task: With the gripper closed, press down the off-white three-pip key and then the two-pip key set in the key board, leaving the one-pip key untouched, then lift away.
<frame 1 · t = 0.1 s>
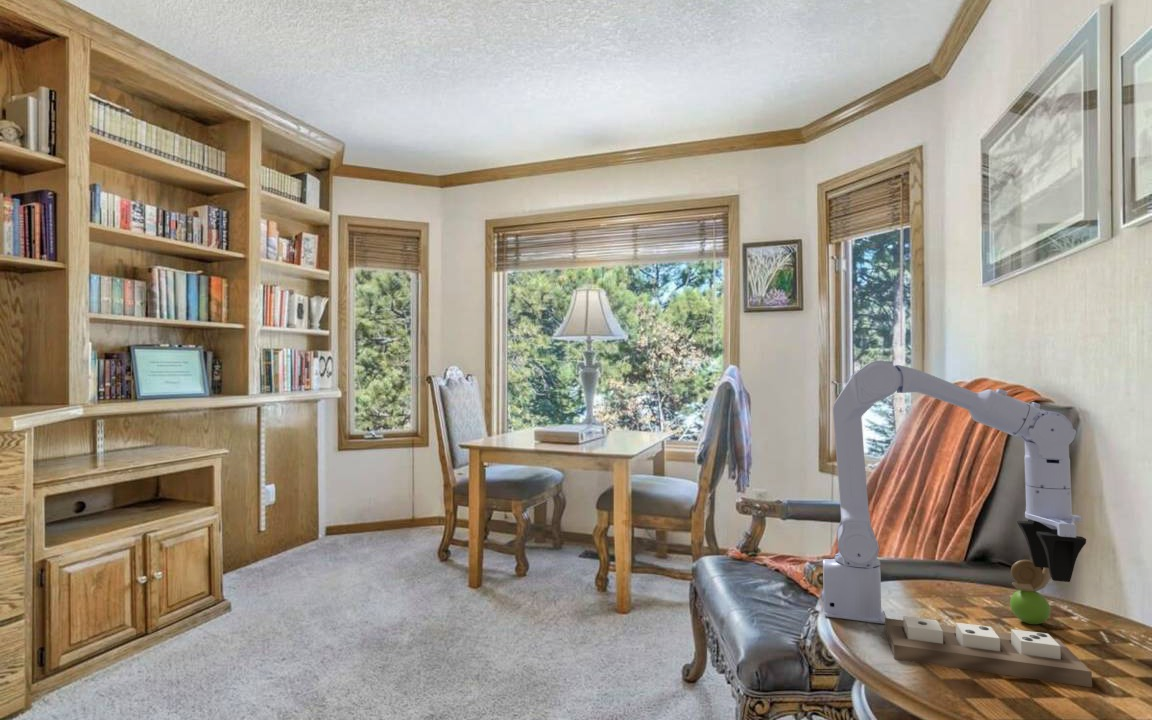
hand: (1051, 573, 94), 10 cm above the table, fingers open, 7 cm apart
tile one pip: (922, 631, 90), point 2 cm above the table, slide at 0.0 cm
tile two pips: (977, 638, 88), point 2 cm above the table, slide at 0.0 cm
snail figurine: (1033, 624, 100), on the table
key board: (977, 656, 87), on the table
tile three pips: (1035, 645, 85), point 2 cm above the table, slide at 0.0 cm
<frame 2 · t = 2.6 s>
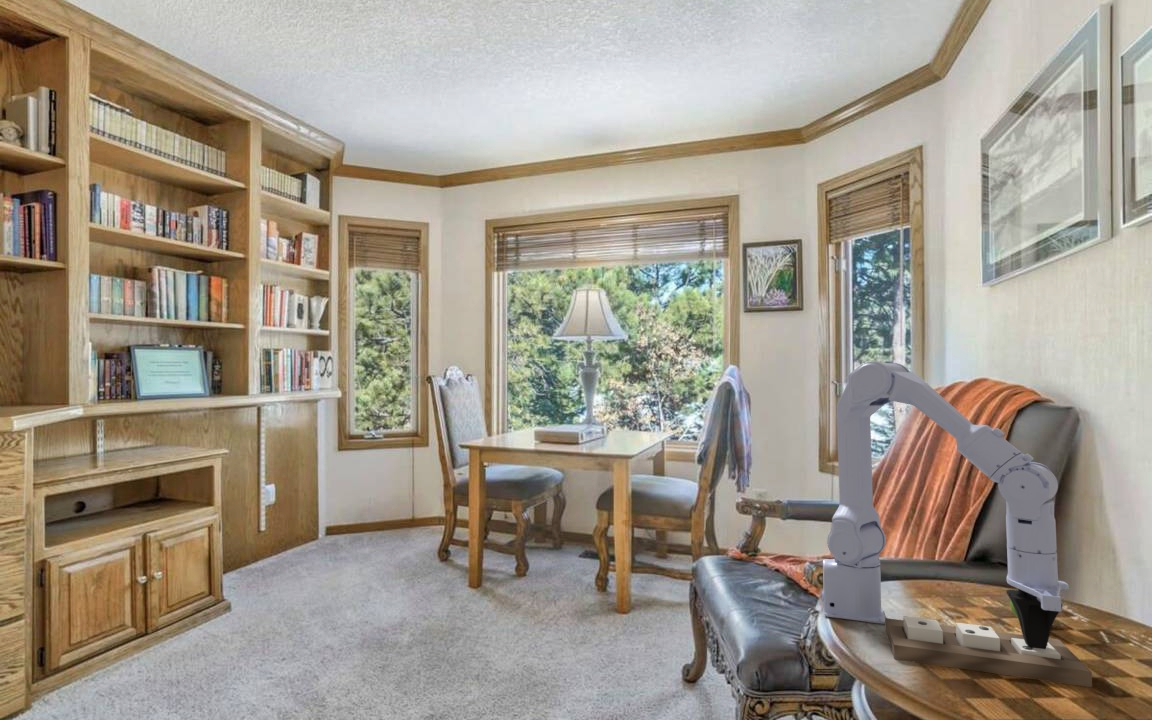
hand: (1035, 646, 85), 2 cm above the table, fingers closed, pressing on tile three pips
tile three pips: (1035, 654, 85), point 1 cm above the table, slide at 1.2 cm, touching gripper
everything else where it was.
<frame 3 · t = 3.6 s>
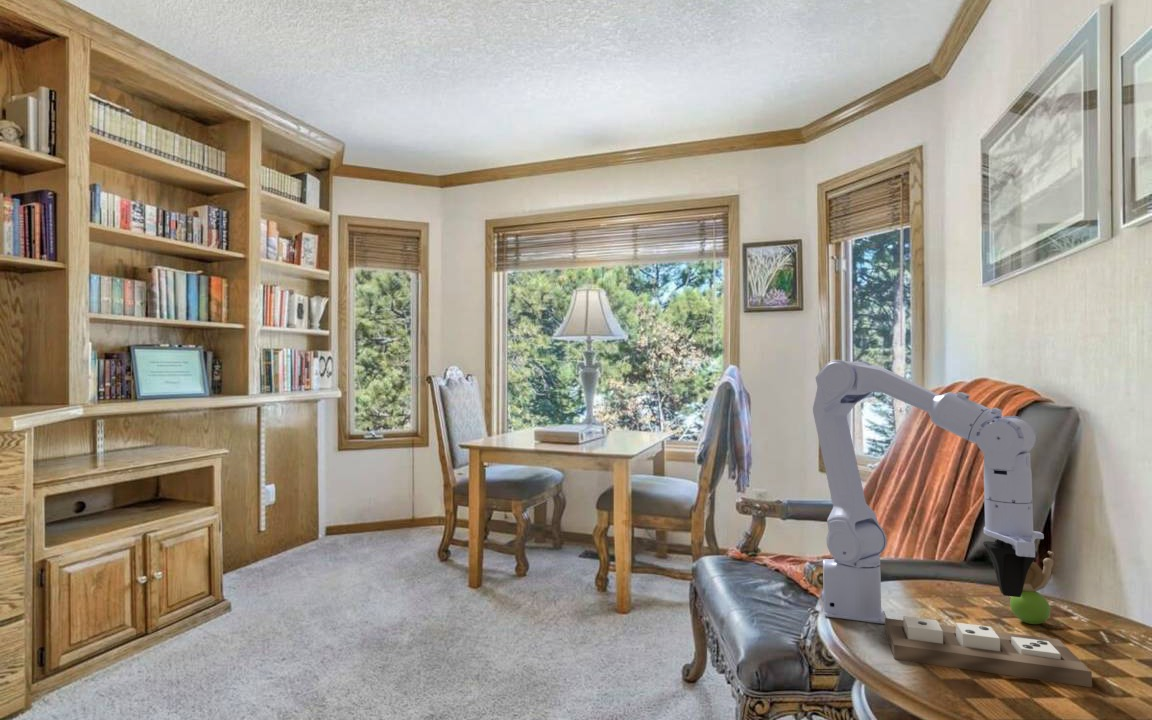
hand: (1010, 595, 87), 9 cm above the table, fingers closed
tile three pips: (1035, 653, 85), point 1 cm above the table, slide at 1.1 cm
everything else where it was.
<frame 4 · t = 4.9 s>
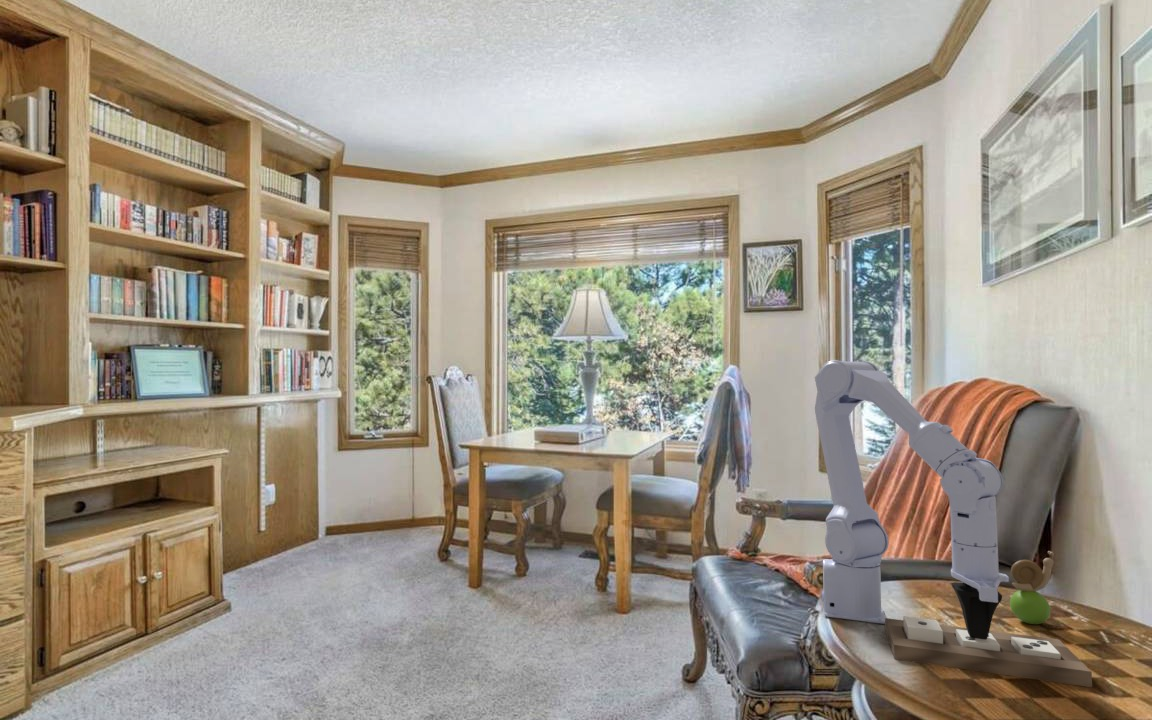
hand: (977, 636, 88), 3 cm above the table, fingers closed, pressing on tile two pips
tile two pips: (977, 645, 88), point 2 cm above the table, slide at 1.0 cm, touching gripper
everything else where it was.
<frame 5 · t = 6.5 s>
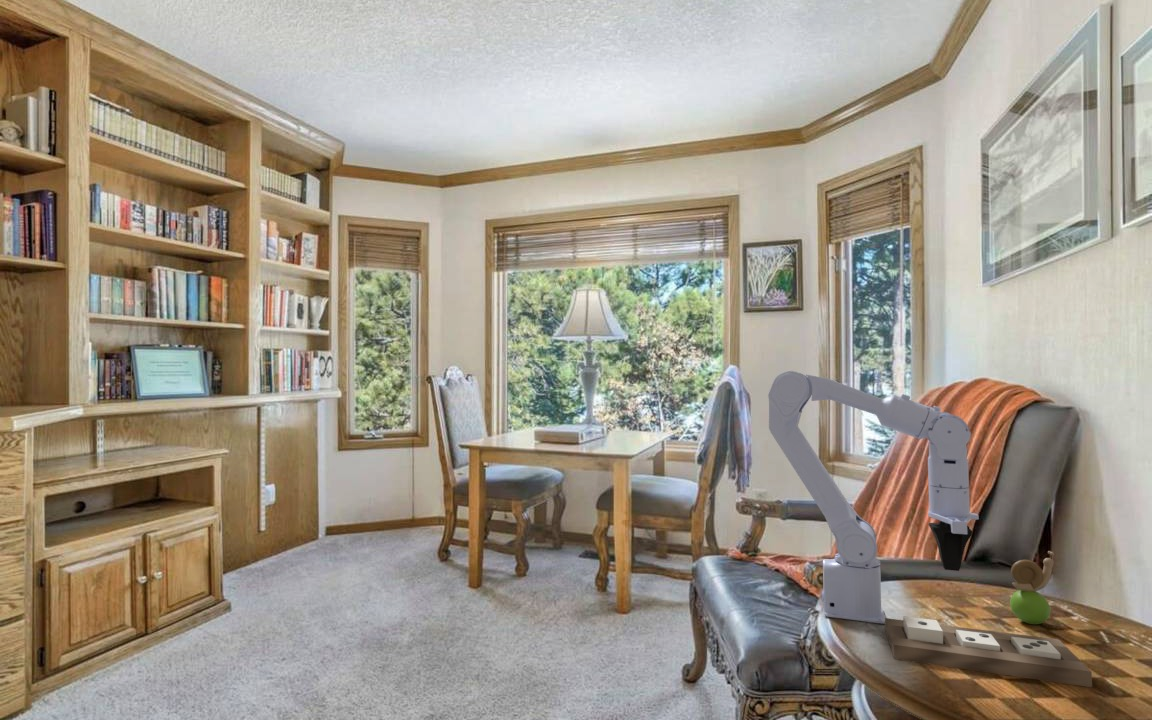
hand: (951, 569, 99), 9 cm above the table, fingers closed
tile two pips: (977, 646, 88), point 1 cm above the table, slide at 1.1 cm
everything else where it was.
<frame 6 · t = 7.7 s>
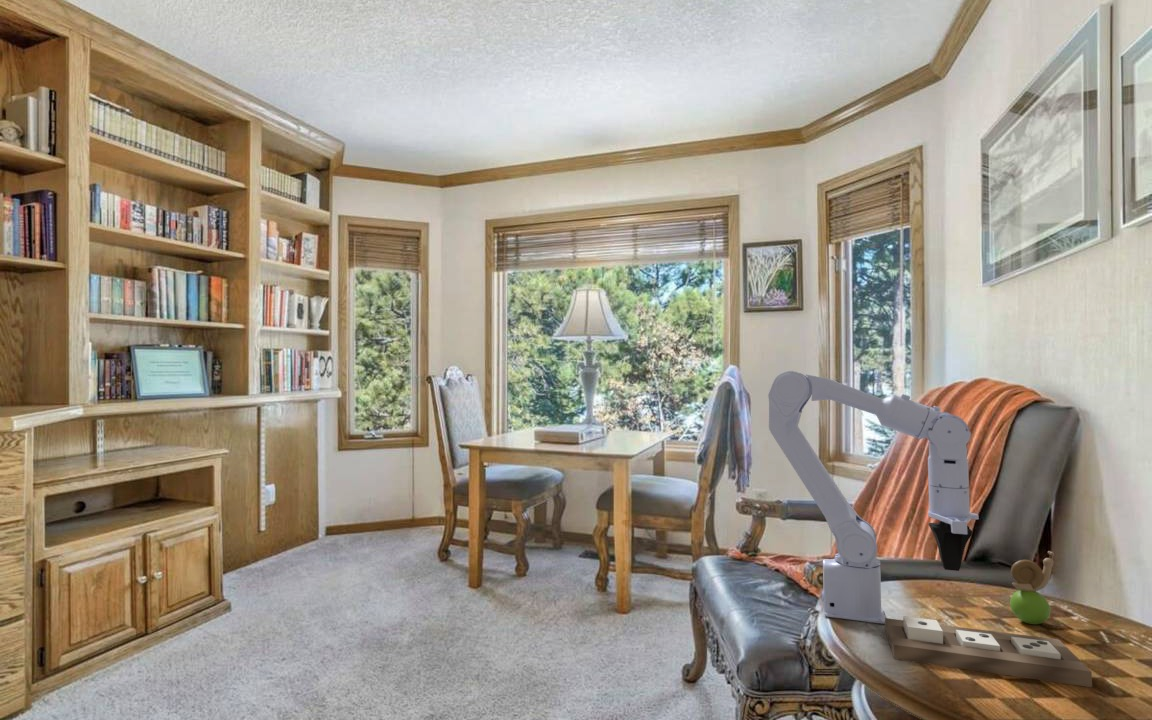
hand: (951, 569, 99), 9 cm above the table, fingers closed
nothing on the table moved.
at the end: tile three pips slide at 1.1 cm; tile two pips slide at 1.1 cm; tile one pip slide at 0.0 cm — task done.
